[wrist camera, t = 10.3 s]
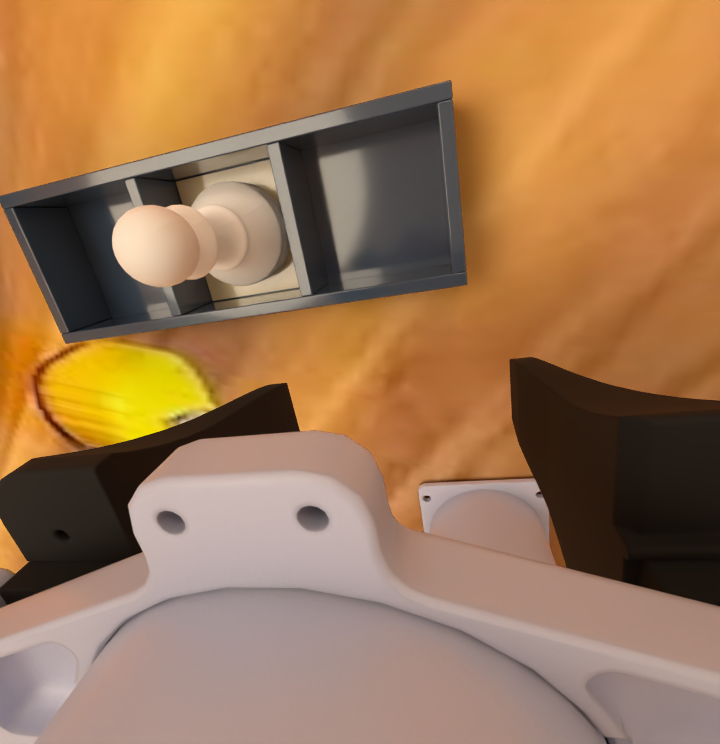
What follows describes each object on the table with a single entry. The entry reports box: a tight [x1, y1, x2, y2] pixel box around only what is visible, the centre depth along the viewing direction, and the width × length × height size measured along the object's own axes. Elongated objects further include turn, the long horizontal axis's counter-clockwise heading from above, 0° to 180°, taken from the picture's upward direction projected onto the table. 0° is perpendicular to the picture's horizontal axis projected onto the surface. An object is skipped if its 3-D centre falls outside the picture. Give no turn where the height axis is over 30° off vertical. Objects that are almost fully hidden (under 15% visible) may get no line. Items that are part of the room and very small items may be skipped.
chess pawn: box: [112, 181, 290, 287], centre depth 17 cm, size 5×5×9 cm
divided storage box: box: [0, 80, 468, 344], centre depth 20 cm, size 8×22×4 cm, turn 100°
